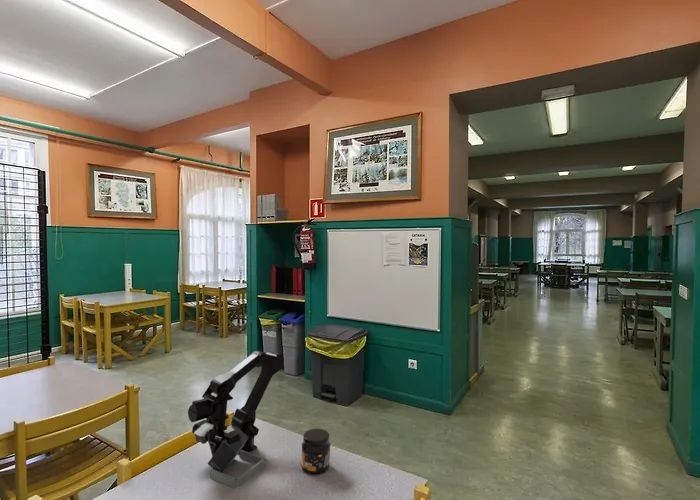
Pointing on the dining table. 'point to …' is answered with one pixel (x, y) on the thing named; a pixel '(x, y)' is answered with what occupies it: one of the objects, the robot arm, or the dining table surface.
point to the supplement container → (315, 451)
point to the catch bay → (245, 476)
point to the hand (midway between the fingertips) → (213, 456)
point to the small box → (227, 452)
